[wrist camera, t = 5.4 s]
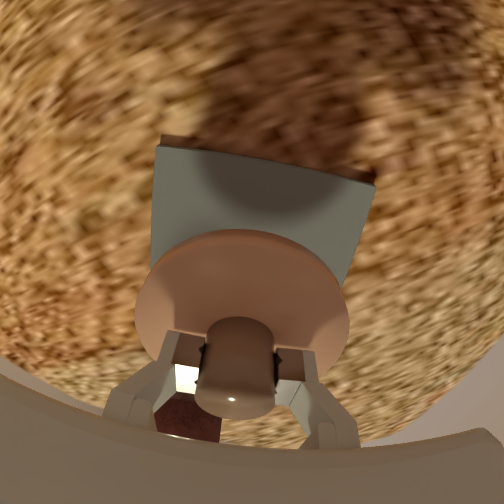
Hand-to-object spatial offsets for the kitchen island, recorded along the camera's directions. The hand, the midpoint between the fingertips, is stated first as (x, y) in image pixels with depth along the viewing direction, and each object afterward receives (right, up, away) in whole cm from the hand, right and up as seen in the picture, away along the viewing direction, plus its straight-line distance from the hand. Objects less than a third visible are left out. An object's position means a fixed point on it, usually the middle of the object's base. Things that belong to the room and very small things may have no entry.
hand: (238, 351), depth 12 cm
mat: (0, +4, +8) cm, 9 cm away
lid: (0, +1, +2) cm, 2 cm away
